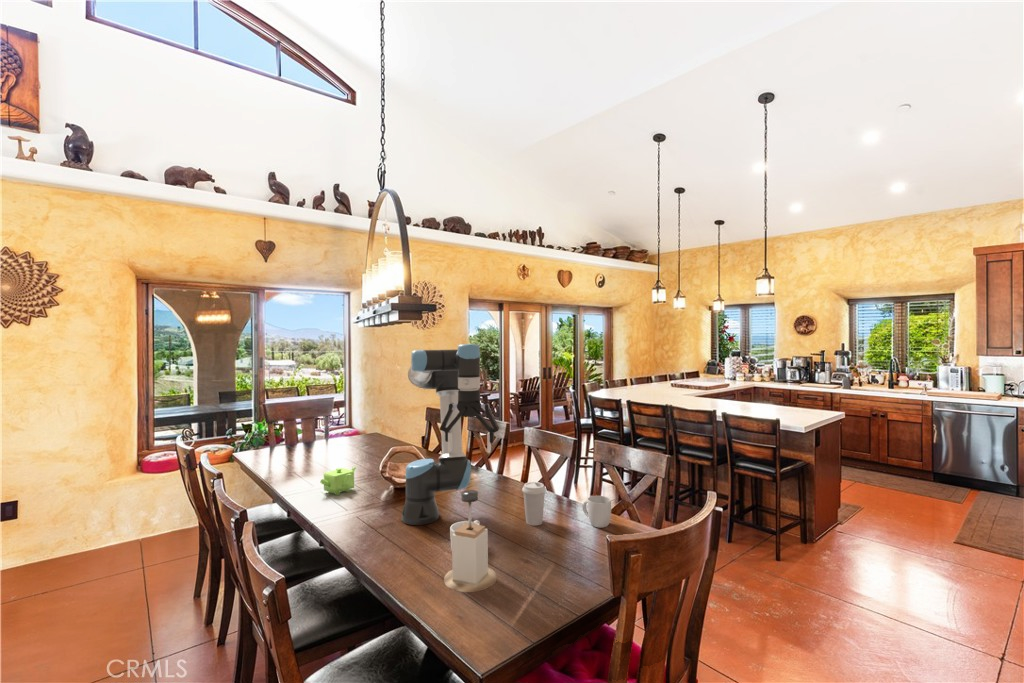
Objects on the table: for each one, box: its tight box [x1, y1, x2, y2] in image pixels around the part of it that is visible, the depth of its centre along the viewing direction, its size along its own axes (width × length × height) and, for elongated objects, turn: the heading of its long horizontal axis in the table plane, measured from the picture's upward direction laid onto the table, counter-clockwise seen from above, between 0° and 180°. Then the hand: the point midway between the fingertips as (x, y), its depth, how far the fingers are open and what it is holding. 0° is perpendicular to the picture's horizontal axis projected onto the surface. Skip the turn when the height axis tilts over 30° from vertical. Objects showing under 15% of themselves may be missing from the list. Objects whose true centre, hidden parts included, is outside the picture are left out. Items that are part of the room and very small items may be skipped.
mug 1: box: [449, 520, 481, 551], centre depth 164 cm, size 13×10×8 cm
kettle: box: [319, 466, 358, 496], centre depth 226 cm, size 15×14×11 cm
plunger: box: [461, 489, 479, 530], centre depth 142 cm, size 6×6×15 cm
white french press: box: [451, 523, 489, 587], centre depth 142 cm, size 8×8×15 cm
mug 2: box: [582, 495, 612, 529], centre depth 185 cm, size 13×9×10 cm
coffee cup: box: [521, 481, 547, 527], centre depth 186 cm, size 10×10×15 cm
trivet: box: [443, 567, 498, 593], centre depth 142 cm, size 16×16×1 cm
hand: (469, 451), depth 159 cm, fingers open, 13 cm apart
